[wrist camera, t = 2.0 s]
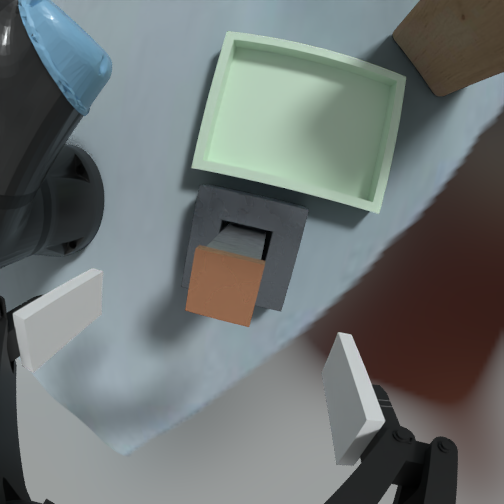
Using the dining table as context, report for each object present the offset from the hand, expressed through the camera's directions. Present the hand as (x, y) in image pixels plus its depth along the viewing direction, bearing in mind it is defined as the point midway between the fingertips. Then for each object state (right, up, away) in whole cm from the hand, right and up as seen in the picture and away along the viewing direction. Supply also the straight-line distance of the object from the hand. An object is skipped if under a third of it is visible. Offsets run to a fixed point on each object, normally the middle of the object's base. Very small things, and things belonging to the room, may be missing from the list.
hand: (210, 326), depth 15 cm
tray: (+8, +18, +15) cm, 25 cm away
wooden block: (+26, +29, +12) cm, 40 cm away
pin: (+1, +5, +19) cm, 20 cm away
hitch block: (+1, +5, +19) cm, 20 cm away
